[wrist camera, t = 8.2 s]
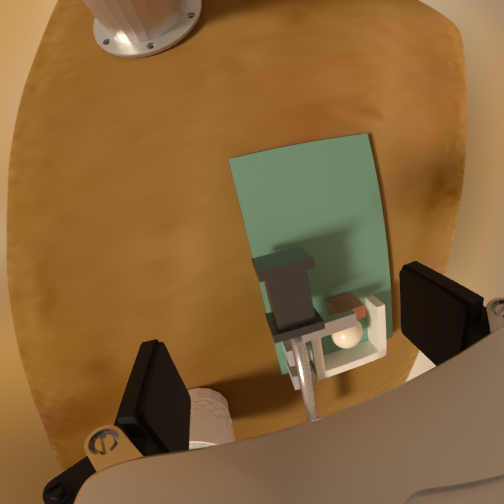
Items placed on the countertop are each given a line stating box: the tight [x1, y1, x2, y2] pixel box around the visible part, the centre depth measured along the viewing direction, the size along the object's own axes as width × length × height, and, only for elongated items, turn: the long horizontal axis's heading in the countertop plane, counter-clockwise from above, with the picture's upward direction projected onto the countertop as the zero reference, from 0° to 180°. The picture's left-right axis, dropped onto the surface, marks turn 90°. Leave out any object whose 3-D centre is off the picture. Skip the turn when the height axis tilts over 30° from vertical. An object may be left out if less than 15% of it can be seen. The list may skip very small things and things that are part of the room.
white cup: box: [187, 388, 235, 449], centre depth 30 cm, size 8×8×10 cm
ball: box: [331, 320, 363, 348], centre depth 31 cm, size 4×4×4 cm
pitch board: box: [229, 133, 393, 390], centre depth 30 cm, size 25×15×4 cm, turn 14°
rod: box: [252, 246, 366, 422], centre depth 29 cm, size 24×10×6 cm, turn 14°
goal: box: [308, 295, 386, 380], centre depth 32 cm, size 7×9×3 cm
